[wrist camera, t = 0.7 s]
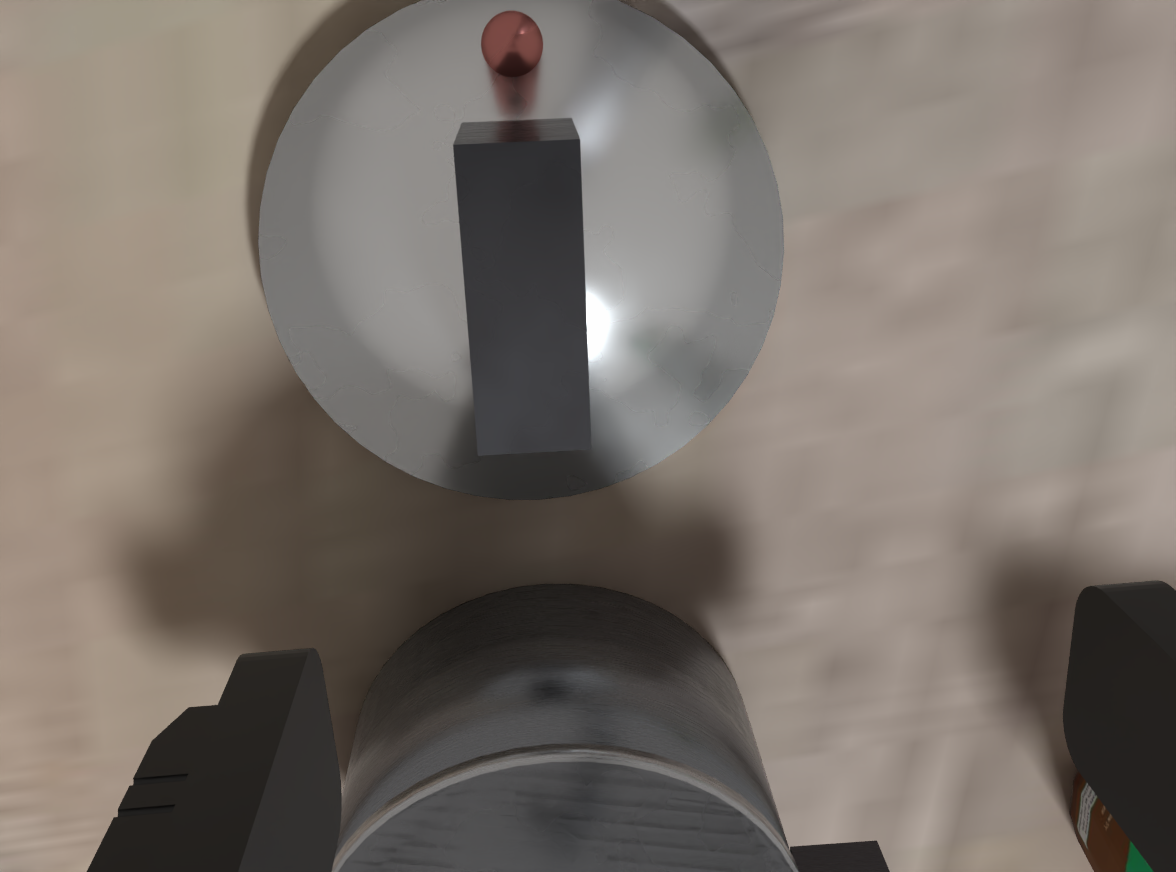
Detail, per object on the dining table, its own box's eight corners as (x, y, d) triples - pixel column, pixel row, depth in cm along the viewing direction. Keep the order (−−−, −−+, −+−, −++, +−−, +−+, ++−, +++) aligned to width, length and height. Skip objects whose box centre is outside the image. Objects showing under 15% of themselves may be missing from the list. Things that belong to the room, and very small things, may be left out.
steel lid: (304, 496, 35) (267, 585, 30) (229, -9, 29) (168, -6, 24) (768, 470, 36) (810, 552, 31) (783, -29, 30) (838, -32, 25)
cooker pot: (254, 599, 36) (175, 783, 28) (827, 564, 37) (916, 734, 29) (311, 924, 42) (259, 1160, 33) (809, 888, 42) (880, 1110, 34)
